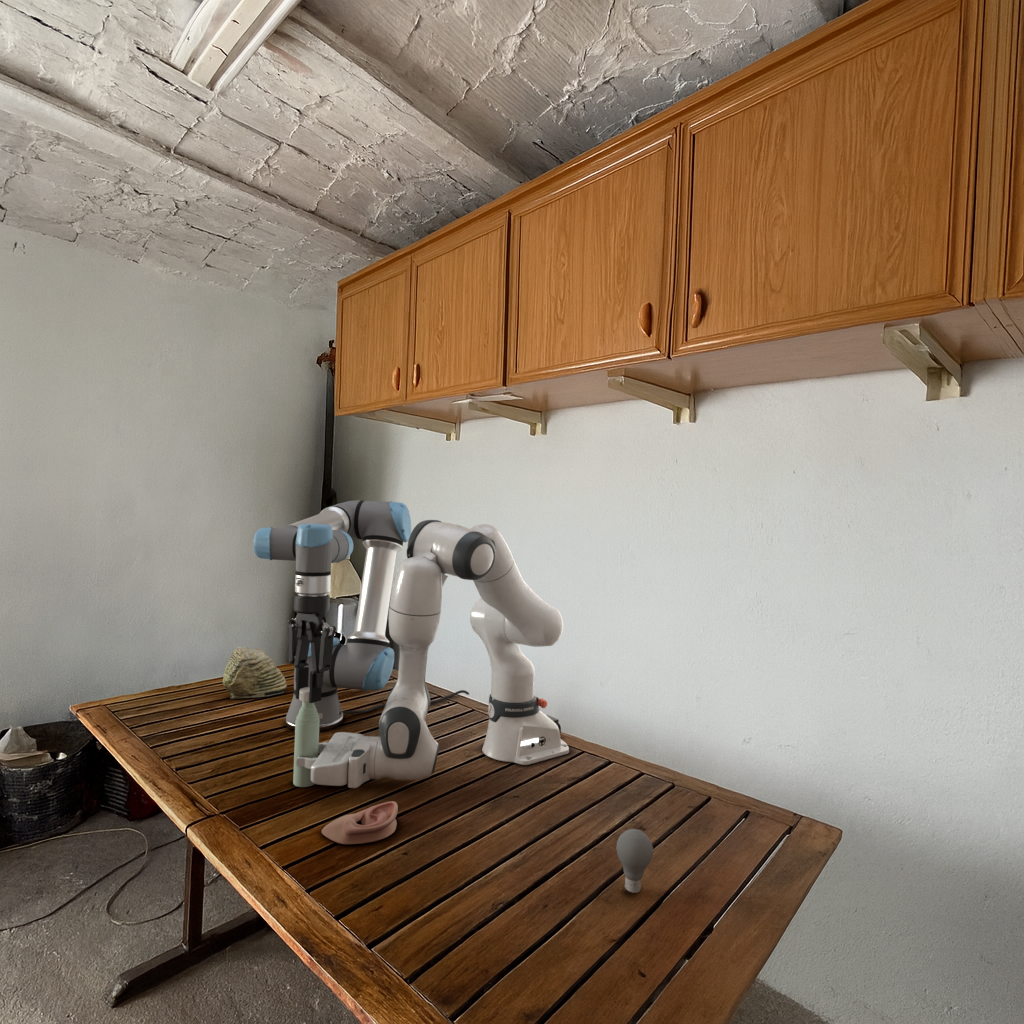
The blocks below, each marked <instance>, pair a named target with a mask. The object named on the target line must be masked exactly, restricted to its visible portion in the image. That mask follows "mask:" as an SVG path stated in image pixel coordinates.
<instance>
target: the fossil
mask: <svg viewBox="0 0 1024 1024" xmlns="http://www.w3.org/2000/svg"><path fill="white" fill-rule="evenodd" d="M222 676H223V677H222V685H223V687H224V688H225V690H226V691H228V693H229V698H230V699H250V698H264V697H271V696H275V695H281V694H284V693H285V691H286V689H287V687H288V686H287V680H286V678H285V676H284V674H283V673H282V672H281V669H279V668H278V667H277V665H276V663H275V662H274V660H273V659H272V658H271V657H270V656H269V655H268V654H267V653H266V652H265V650H264V649H263V648H260V647H258V648H251V647H247V646H246V647H245V646H238V647H237V648H236V649H235V650H233V651H232V653H231V656H230V657H229V659H228V660H227V663H226V666H225V668H224V671H223V675H222Z"/></svg>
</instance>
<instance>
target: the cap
mask: <svg viewBox="0 0 1024 1024" xmlns="http://www.w3.org/2000/svg"><path fill="white" fill-rule="evenodd" d="M309 690H310V687H305V688H301V689H300V691H299V700H301V701H306V702H307V701H309Z"/></svg>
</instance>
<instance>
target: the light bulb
mask: <svg viewBox="0 0 1024 1024" xmlns="http://www.w3.org/2000/svg"><path fill="white" fill-rule="evenodd" d="M615 849H616V854H617V857H618V859H619V861H620V863H621V865H622V867H623V873H624V874H623V875H624V876H625V878H624V888H625V890H627V891H628V892H630V893H634V894H635V893H639V892H640V891H641V889H642V887H641V886H642V879H643V877H644V875H645V871H646V868H647V867H648V866H649V864H650V863H651V861H652V859H653V855H654V847H653V843H652V841H651V838H649V836H648V835H647V834H646V833H645V832H643V831H642V830H641V829H636V828H629V829H627V830H625V831H623V832H622V833H621V834H620V835H619V837H618V839H617V841H616V847H615Z"/></svg>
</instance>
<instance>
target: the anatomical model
mask: <svg viewBox="0 0 1024 1024" xmlns="http://www.w3.org/2000/svg"><path fill="white" fill-rule="evenodd" d="M398 809H399V806H398V803H397V802H396V801H393V800H392V801H391V800H390V801H385V802H381V803H378V804H376V805H372V806H370V807H368V808H365V809H363V810H360V811H358V812H355V813H350V814H344V815H342V816H340V817H338V818H336V819H334V820H332V821H331V822H329V823H327V824H326V825H325V826H323V828H322V829H321V834H322V835H323V836H324V837H325V838H327V839H328V840H331V841H333V842H335V843H337V844H341V845H357V844H358V845H359V844H367V843H372V842H377V841H380V840H384V839H385V838H388V837H389V836H391V835H392V834H393V833H395V831H396V829H397V826H398V823H397V820H396V819H397V815H398V812H399V811H398Z"/></svg>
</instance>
